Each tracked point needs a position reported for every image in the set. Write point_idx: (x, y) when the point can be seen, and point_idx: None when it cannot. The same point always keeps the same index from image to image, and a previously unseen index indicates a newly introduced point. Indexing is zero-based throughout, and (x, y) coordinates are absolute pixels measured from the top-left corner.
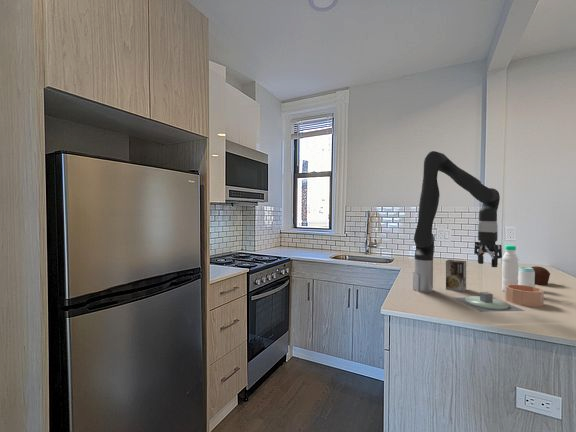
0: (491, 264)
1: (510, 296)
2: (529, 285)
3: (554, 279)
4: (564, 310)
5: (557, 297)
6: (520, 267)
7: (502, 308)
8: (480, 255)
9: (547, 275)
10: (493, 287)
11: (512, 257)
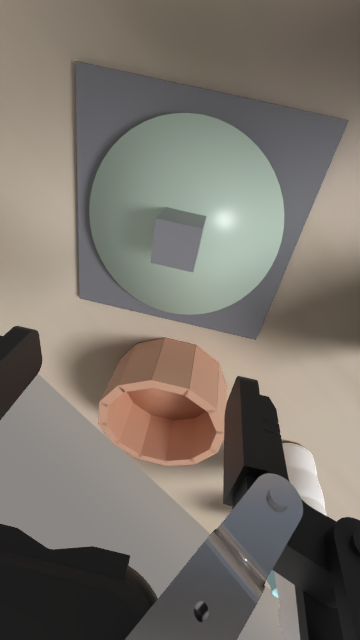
0: (17, 342)
1: (171, 357)
2: None
3: None
4: (87, 406)
5: (188, 487)
6: None
7: (91, 221)
8: (241, 493)
9: None
10: (352, 459)
11: (296, 637)
